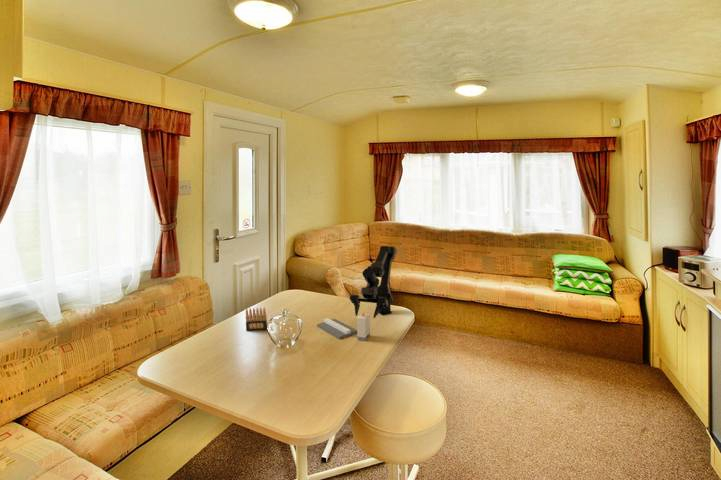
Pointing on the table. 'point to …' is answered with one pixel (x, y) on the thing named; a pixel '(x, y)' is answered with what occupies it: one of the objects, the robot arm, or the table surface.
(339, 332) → the mounting board
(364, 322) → the block
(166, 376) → the table surface
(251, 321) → the ammunition clip
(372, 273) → the robot arm
